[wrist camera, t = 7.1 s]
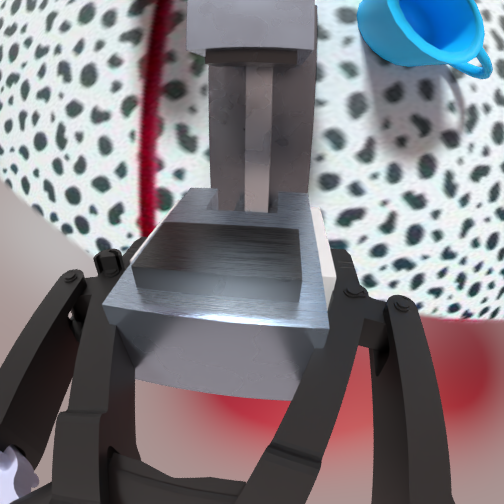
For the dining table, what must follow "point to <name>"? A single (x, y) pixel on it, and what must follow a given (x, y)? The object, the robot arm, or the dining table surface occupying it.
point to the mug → (426, 33)
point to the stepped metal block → (224, 299)
